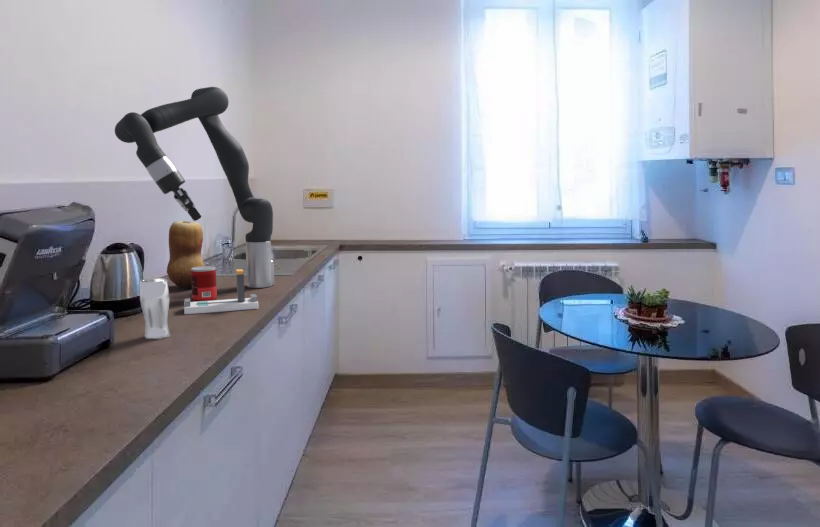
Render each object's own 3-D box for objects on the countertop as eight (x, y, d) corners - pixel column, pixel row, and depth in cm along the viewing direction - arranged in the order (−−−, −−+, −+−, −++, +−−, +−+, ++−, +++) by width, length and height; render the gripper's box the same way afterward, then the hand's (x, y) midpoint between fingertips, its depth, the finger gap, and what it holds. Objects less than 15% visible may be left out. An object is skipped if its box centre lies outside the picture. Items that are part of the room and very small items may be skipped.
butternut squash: (205, 289, 213) (202, 222, 209) (166, 291, 209) (162, 222, 205) (206, 283, 226) (203, 219, 222) (169, 284, 222) (165, 220, 218)
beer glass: (161, 331, 156) (158, 276, 154) (177, 335, 152) (173, 279, 150) (137, 337, 150) (133, 280, 148) (152, 341, 147) (148, 283, 144)
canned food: (221, 298, 198) (220, 266, 197) (206, 303, 191) (204, 270, 189) (203, 296, 201) (201, 265, 199) (187, 301, 194) (185, 269, 192)
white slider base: (184, 314, 175) (183, 303, 175) (184, 308, 183) (183, 297, 182) (258, 308, 183) (258, 297, 183) (255, 303, 191) (255, 293, 190)
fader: (238, 301, 183) (237, 271, 181) (237, 299, 186) (236, 269, 185) (244, 301, 183) (243, 271, 182) (243, 298, 187) (242, 269, 186)
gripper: (177, 166, 171) (210, 212, 176) (175, 170, 184) (206, 213, 189) (154, 179, 169) (188, 225, 174) (155, 183, 182) (186, 226, 187)
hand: (198, 219), depth 181 cm, fingers open, 8 cm apart
